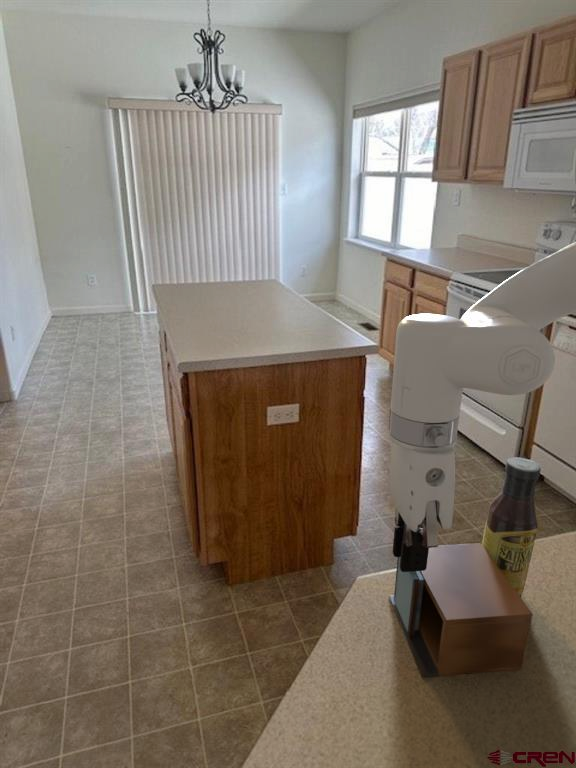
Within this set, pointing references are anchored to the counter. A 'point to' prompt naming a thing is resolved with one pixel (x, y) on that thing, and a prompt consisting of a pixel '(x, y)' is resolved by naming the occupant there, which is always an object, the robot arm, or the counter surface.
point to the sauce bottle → (513, 522)
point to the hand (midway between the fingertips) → (409, 561)
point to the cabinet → (466, 615)
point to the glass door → (406, 594)
